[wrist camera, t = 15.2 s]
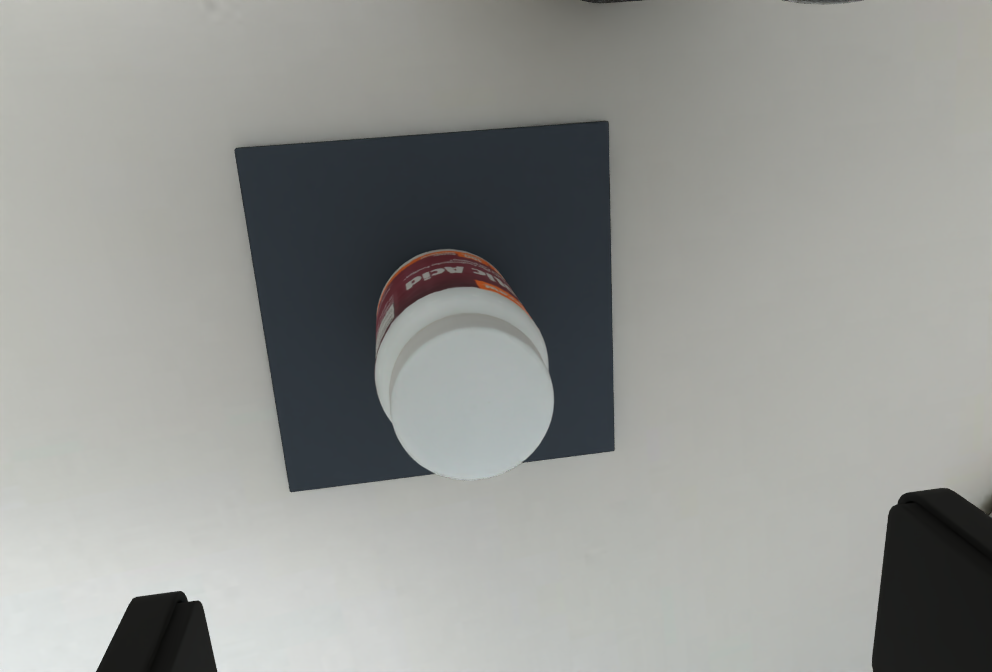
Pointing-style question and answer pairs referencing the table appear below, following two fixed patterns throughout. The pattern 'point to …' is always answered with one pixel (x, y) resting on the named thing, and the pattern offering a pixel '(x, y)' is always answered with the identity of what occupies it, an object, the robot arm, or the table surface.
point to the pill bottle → (461, 366)
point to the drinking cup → (804, 0)
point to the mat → (410, 232)
